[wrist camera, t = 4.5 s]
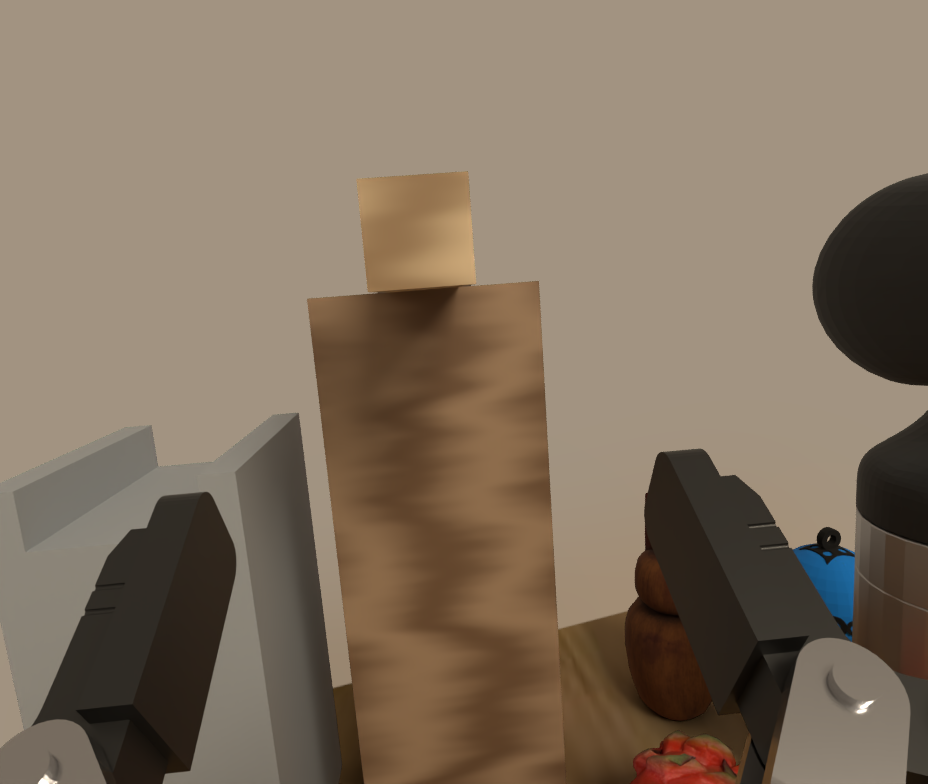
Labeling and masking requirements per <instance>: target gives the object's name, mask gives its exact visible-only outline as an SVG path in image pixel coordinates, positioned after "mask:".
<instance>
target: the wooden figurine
mask: <svg viewBox="0 0 928 784" xmlns="http://www.w3.org/2000/svg"><path fill="white" fill-rule="evenodd" d="M647 494H648V493H646V494H645V503H646V499H647ZM635 588H636V591H637V593H638V595H639V597H638V598H637V599H636V600H635V602H634V603H633V604H632V605H631V606H630V608H629V610H628V613H627V616H626V622H625V645H626V651H627V657H628V663H629V668H630V672H631V675H632V679H633V681H634V684H635V686H636V689H637V691H638V694H639V696H640V698H641V699H642V700H643V702H644V703H645V704H646V705H647V706H648V707H649V708H650V709H652V710H653V711H655V712H656V713H657V714H659V715H661V716H663V717H666V718H668V719H671V720H679V721H684V720H688V719H692V718H694V717H696V716H699V715H701V714H703V713H705V711H706V709H707V708H708V706H709V705H710V703H711V701H712V698H711V695H710V693H709V690H708V688H707V685H706V683H705V680H704V678H703V675H702V673H701V670H700V668H699V665H698V663H697V660H696V657H695V655H694V652H693V650H692V647H691V645H690V642H689V640H688V637H687V635H686V632H685V630H684V627H683V625H682V622H681V619H680V617H679V614H678V612H677V609H676V607H675V604H674V602H673V599H672V597H671V594H670V592H669V589H668V586H667V584H666V581H665V579H664V576H663V574H662V571H661V569H660V566H659V564H658V561H657V559H656V556H655V554H654V551H653V548H652V546H651V543H650V541H649V538H648V535H647V531H646V526H645V551H644V552H643V553H642V554H641V555H640V556H639V558H638V560H637V564H636V568H635Z"/></svg>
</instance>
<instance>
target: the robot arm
mask: <svg viewBox="0 0 928 784" xmlns="http://www.w3.org/2000/svg"><path fill="white" fill-rule="evenodd" d="M813 300H814V305H815V308H816V312H817V315H818V318H819V320H820V322H821V324H822V326H823V328H824V330H825V332H826V334H827V335H828V336H829V338H830V339H831V340H832V341H833V343H834V344H835V345H836V347H837V348H838V349H839V350H840V351H841V352H842V353H844V354H845V355H846V356H847V357H848V358H849V359H850V360H851V361H853V362H854V363H856V364H858V365H859V366H861V367H862V368H864V369H866V370H867V371H868V372H870V373H873V374H875V375H878V376H880V377H883V378H885V379H888V380H890V381H894V382H898V383H904V384H909V385H924V386H928V174H923V175H919V176H915V177H911V178H908V179H905V180H902V181H899V182H897V183H895V184H892V185H890V186H888V187H886V188H884V189H882V190H880V191H878V192H876V193H875V194H873V195H871V196H870V197H868V198H867V199H865V200H864V201H863V202H861V203H860V204H859V205H857V206H856V207H855V208H854V209H853V210H852V211H850V212H849V214H848V215H847V216H846V217H844V219H842V221H841V222H840V223H839V225H838V226H837V227H836V228H835V230H834V231H833V232H832V233H831V235H830V236H829V238H828V240H827V241H826V243H825V245H824V247H823V249H822V250H821V252H820V255H819V258H818V261H817V264H816V267H815V271H814V276H813ZM644 517H645V526H646V531H647V535H648V538H649V541H650V543H651V546H652V548H653V551H654V554H655V556H656V559H657V561H658V564H659V566H660V569H661V571H662V574H663V576H664V579H665V581H666V584H667V586H668V589H669V592H670V594H671V597H672V599H673V602H674V604H675V607H676V609H677V612H678V614H679V617H680V619H681V622H682V625H683V627H684V630H685V632H686V635H687V637H688V640H689V642H690V645H691V647H692V650H693V652H694V655H695V657H696V660H697V663H698V665H699V668H700V670H701V673H702V675H703V678H704V680H705V683H706V685H707V688H708V690H709V693H710V695H711V698H712V701H713V703H714V706H715V708H716V711H717V713H718V715H724V714H733V713H741V714H742V716H743V719H744V721H745V723H746V726H747V728H748V730H749V733H748V736H747V738H746V742H745V746H744V750H743V753H742V757H741V761H740V765H739V769H738V773H737V777H736V781H735V784H928V411H926V413H925V414H924V415H923V416H922V417H920V418H919V419H918V420H917V421H915V422H914V423H913V424H911V425H910V426H909V427H907V428H906V429H904V430H903V431H901V432H899V433H897V434H896V435H894V436H892V437H890V438H888V439H887V440H885V441H883V442H881V443H879V444H878V445H876V446H874V447H873V448H872V449H870V450H869V451H868V452H867V453H866V454H865V455H864V457H863V458H862V460H861V462H860V465H859V468H858V473H857V492H856V534H855V571H854V599H853V628H852V642H851V641H850V640H849V639H848V638H847V636H846V635H845V634H844V633H843V631H842V630H841V628H840V627H839V625H838V624H837V622H836V620H835V619H834V617H833V616H832V614H831V612H830V611H829V609H828V607H827V606H826V604H825V602H824V601H823V599H822V597H821V596H820V594H819V592H818V591H817V589H816V588H815V586H814V584H813V583H812V581H811V579H810V578H809V576H808V574H807V573H806V571H805V569H804V568H803V566H802V564H801V563H800V561H799V560H798V558H797V556H796V555H795V553H794V551H793V550H792V548H789V546H788V541H787V540H786V538H785V536H784V535H783V533H782V532H781V530H780V528H779V527H776V525H775V520H774V518H773V517H772V515H771V514H770V512H769V510H768V508H767V507H766V505H765V504H764V502H763V500H762V499H761V497H760V496H759V495H758V494H757V493H756V492H755V491H753V490H752V489H751V488H750V487H749V486H747V485H746V484H745V483H744V482H743V481H742V480H740V479H739V478H738V477H737V476H736V475H732V476H720V475H719V473H718V471H717V469H716V467H715V466H714V464H713V462H712V460H711V459H710V457H709V455H708V454H707V453H706V452H705V451H704V450H703V449H691V450H680V451H670V452H660V453H659V454H658V455H657V457H656V461H655V465H654V469H653V474H652V478H651V482H650V486H649V490H648V494H647V499H646V503H645V510H644ZM235 576H236V551H235V546H234V543H233V540H232V538H231V536H230V534H229V532H228V529H227V527H226V525H225V523H224V521H223V518H222V516H221V514H220V512H219V510H218V507H217V505H216V503H215V501H214V499H213V497H212V495H211V494H210V493H209V492H198V493H187V494H175V495H165V496H162V497H161V498H160V499H159V500H158V501H157V503H156V505H155V507H154V510H153V512H152V515H151V518H150V520H149V523H148V525H147V528H141V529H131V530H130V531H129V532H128V533H127V534H126V536H125V537H124V538H123V539H122V540H121V541H120V542H119V544H118V545H117V546H116V547H115V548H114V549H113V550H112V552H111V553H110V554H109V555H108V556H107V559H106V561H105V563H104V565H103V568H102V570H101V572H100V575H99V577H98V579H97V582H96V584H95V591H92V593H91V596H90V598H89V600H88V603H87V605H86V607H85V609H84V610H85V615H84V616H81V619H80V621H79V623H78V626H77V628H76V630H75V633H74V635H73V637H72V640H71V642H70V644H69V646H68V649H67V651H66V653H65V656H64V658H63V660H62V663H61V665H60V667H59V670H58V672H57V674H56V677H55V679H54V681H53V684H52V686H51V688H50V690H49V693H48V695H47V697H46V700H45V702H44V704H43V707H42V709H41V711H40V713H39V715H38V717H37V718H36V720H35V721H34V723H33V724H32V726H31V727H29V728H27V729H26V730H24V731H22V732H21V733H19V734H17V735H16V736H15V737H13V738H12V739H11V740H9V741H8V742H7V743H6V744H5V745H3V746H2V747H1V748H0V784H163V780H164V776H165V774H169V773H178V772H187V771H191V766H192V762H193V758H194V753H195V749H196V745H197V740H198V736H199V732H200V727H201V723H202V719H203V715H204V710H205V706H206V702H207V697H208V693H209V689H210V684H211V680H212V676H213V671H214V667H215V663H216V658H217V654H218V650H219V645H220V641H221V637H222V633H223V628H224V624H225V620H226V615H227V611H228V607H229V602H230V598H231V594H232V589H233V585H234V581H235Z"/></svg>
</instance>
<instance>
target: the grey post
mask: <svg viewBox="0 0 928 784" xmlns="http://www.w3.org/2000/svg"><path fill="white" fill-rule="evenodd" d="M198 492H209V493H210V494H211V495H212V497H213V499H214V501H215V503H216V505H217V507H218V510H219V512H220V514H221V516H222V518H223V521H224V523H225V525H226V527H227V529H228V532H229V534H230V536H231V538H232V540H233V543H234V546H235V551H236V576H235V581H234V585H233V589H232V594H231V598H230V602H229V607H228V611H227V615H226V620H225V624H224V628H223V633H222V637H221V641H220V645H219V650H218V654H217V658H216V663H215V667H214V671H213V676H212V680H211V684H210V689H209V693H208V697H207V702H206V706H205V710H204V715H203V719H202V723H201V727H200V732H199V736H198V740H197V745H196V749H195V753H194V758H193V762H192V766H191V771H187V772H178V773H169V774H165V776H164V780H163V784H339V779H340V774H341V768H342V760H341V752H340V744H339V736H338V728H337V720H336V712H335V704H334V695H333V687H332V679H331V671H330V663H329V655H328V647H327V639H326V632H325V623H324V614H323V606H322V598H321V590H320V583H319V574H318V566H317V558H316V550H315V542H314V534H313V526H312V519H311V509H310V502H309V493H308V485H307V477H306V469H305V461H304V452H303V444H302V436H301V428H300V421H299V413H290V414H280V415H279V414H278V415H272V416H271V417H270V418H268V419H267V420H266V421H265V422H263V423H262V424H261V425H259V426H258V427H257V428H256V429H254V430H253V431H252V432H251V433H249V434H248V435H247V436H246V437H244V438H243V439H242V440H240V441H239V442H238V443H237V444H235V445H234V446H233V447H232V448H231V449H229V450H228V451H227V452H225V453H224V454H223V455H222V456H220V457H219V458H218V459H216V460H215V461H214V462H206V463H195V464H184V465H172V466H160V467H158V463H157V457H156V451H155V444H154V439H153V432H152V427H151V425H149V426H138V427H126V428H123V429H121V430H119V431H116V432H114V433H112V434H110V435H107V436H105V437H103V438H100V439H99V440H96V441H94V442H92V443H89V444H87V445H85V446H83V447H80V448H78V449H76V450H74V451H71V452H69V453H67V454H65V455H62V456H60V457H58V458H56V459H53V460H51V461H49V462H47V463H44V464H42V465H40V466H38V467H35V468H33V469H31V470H29V471H26V472H24V473H22V474H20V475H17V476H15V477H13V478H11V479H9V480H6V481H4V482H2V483H0V622H1V626H2V631H3V636H4V640H5V644H6V650H7V654H8V659H9V663H10V668H11V672H12V676H13V682H14V686H15V691H16V695H17V700H18V704H19V709H20V714H21V718H22V723H23V727H24V730H26V729H27V728H29V727H31V726H32V724H33V723H34V721H35V720H36V718H37V717H38V715H39V713H40V711H41V709H42V707H43V704H44V702H45V700H46V697H47V695H48V693H49V690H50V688H51V686H52V684H53V681H54V679H55V677H56V674H57V672H58V670H59V667H60V665H61V663H62V660H63V658H64V656H65V653H66V651H67V649H68V646H69V644H70V642H71V640H72V637H73V635H74V633H75V630H76V628H77V626H78V623H79V621H80V619H81V616H84V615H85V610H84V609H85V607H86V605H87V603H88V600H89V598H90V596H91V593H92V591H95V584H96V582H97V579H98V577H99V575H100V572H101V570H102V568H103V565H104V563H105V561H106V559H107V556H108V555H109V554H110V553H111V552H112V550H113V549H114V548H115V547H116V546H117V545H118V544H119V542H120V541H121V540H122V539H123V538H124V537H125V536H126V534H127V533H128V532H129V531H130V530H131V529H141V528H147V525H148V523H149V520H150V518H151V515H152V512H153V510H154V507H155V505H156V503H157V501H158V500H159V499H160V498H161V497H162V496H165V495H175V494H187V493H198Z"/></svg>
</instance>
